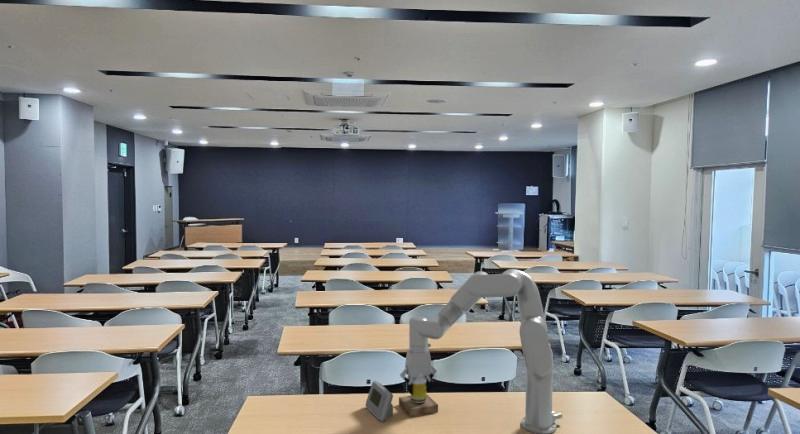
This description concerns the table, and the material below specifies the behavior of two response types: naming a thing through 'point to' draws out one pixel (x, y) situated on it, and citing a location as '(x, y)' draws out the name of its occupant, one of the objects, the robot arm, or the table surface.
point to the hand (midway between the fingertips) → (418, 391)
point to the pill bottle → (419, 389)
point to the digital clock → (380, 401)
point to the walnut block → (418, 406)
